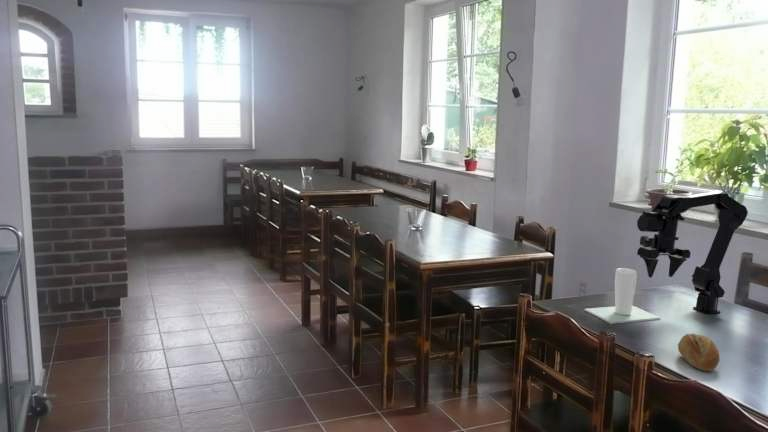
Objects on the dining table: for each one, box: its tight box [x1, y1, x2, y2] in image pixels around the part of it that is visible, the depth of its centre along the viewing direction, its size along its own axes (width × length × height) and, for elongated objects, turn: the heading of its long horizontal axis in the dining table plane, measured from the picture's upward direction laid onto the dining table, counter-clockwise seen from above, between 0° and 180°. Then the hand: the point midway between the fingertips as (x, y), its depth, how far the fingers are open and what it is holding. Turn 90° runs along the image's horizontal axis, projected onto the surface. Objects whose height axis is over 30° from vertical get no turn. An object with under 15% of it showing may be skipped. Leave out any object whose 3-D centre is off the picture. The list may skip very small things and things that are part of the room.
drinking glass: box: [614, 267, 638, 315], centre depth 221 cm, size 7×7×15 cm
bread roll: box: [677, 333, 720, 372], centre depth 181 cm, size 10×15×8 cm, turn 175°
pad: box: [583, 304, 661, 325], centre depth 222 cm, size 20×14×1 cm
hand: (660, 277), depth 224 cm, fingers open, 9 cm apart
